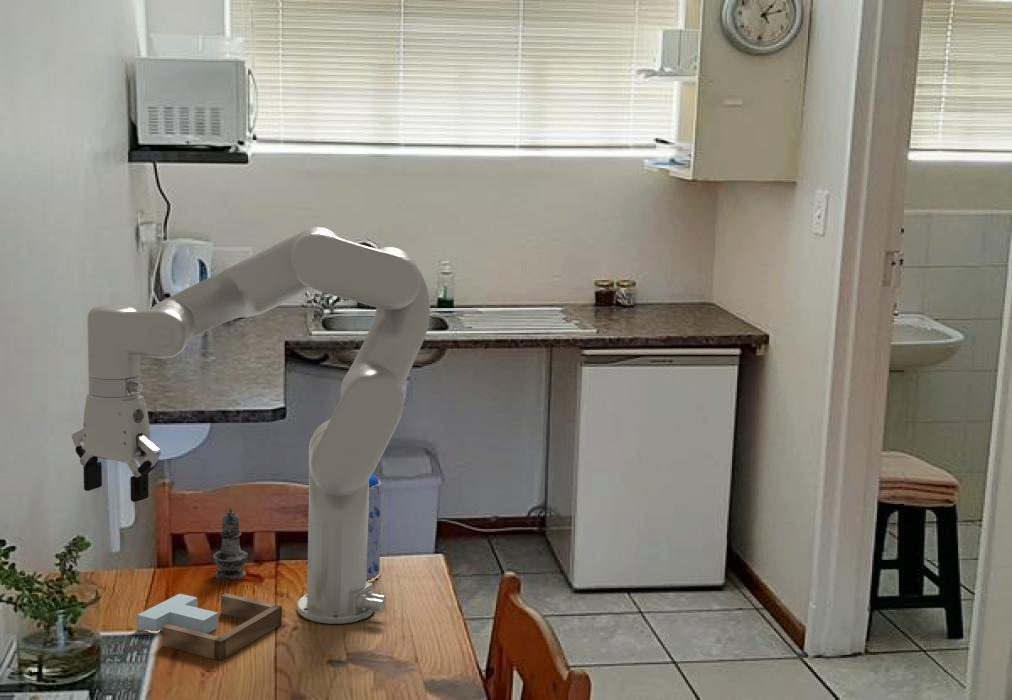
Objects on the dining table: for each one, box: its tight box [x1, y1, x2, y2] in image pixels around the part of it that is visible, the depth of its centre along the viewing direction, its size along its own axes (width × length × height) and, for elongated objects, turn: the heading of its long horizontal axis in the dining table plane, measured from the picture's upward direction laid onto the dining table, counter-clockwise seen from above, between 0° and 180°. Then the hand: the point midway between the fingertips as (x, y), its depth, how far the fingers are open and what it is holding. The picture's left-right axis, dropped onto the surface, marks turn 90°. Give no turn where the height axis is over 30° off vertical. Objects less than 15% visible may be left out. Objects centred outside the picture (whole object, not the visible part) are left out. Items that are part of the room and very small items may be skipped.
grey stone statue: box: [212, 508, 249, 581], centre depth 213 cm, size 6×6×12 cm
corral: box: [161, 592, 283, 662], centre depth 189 cm, size 11×15×3 cm
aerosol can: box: [367, 474, 383, 581], centre depth 214 cm, size 8×8×20 cm
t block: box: [136, 593, 219, 634], centre depth 192 cm, size 10×10×2 cm
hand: (116, 494), depth 191 cm, fingers open, 9 cm apart
